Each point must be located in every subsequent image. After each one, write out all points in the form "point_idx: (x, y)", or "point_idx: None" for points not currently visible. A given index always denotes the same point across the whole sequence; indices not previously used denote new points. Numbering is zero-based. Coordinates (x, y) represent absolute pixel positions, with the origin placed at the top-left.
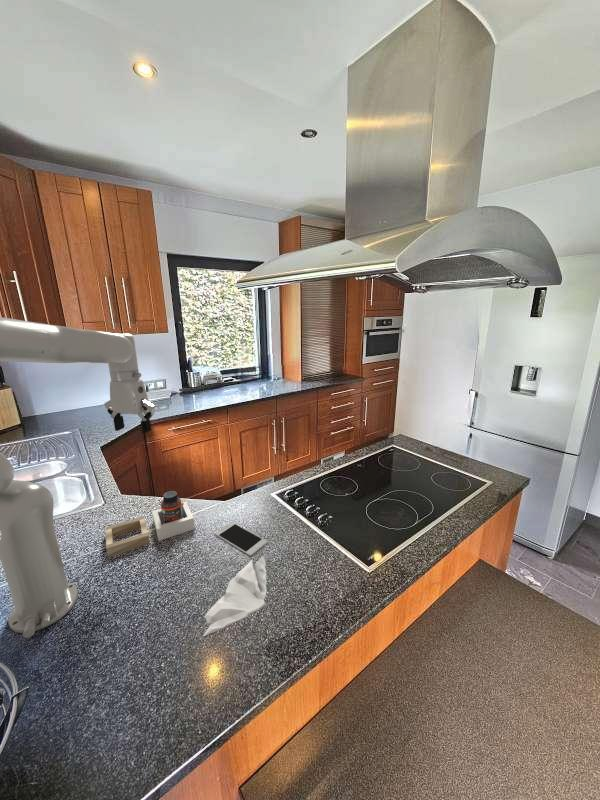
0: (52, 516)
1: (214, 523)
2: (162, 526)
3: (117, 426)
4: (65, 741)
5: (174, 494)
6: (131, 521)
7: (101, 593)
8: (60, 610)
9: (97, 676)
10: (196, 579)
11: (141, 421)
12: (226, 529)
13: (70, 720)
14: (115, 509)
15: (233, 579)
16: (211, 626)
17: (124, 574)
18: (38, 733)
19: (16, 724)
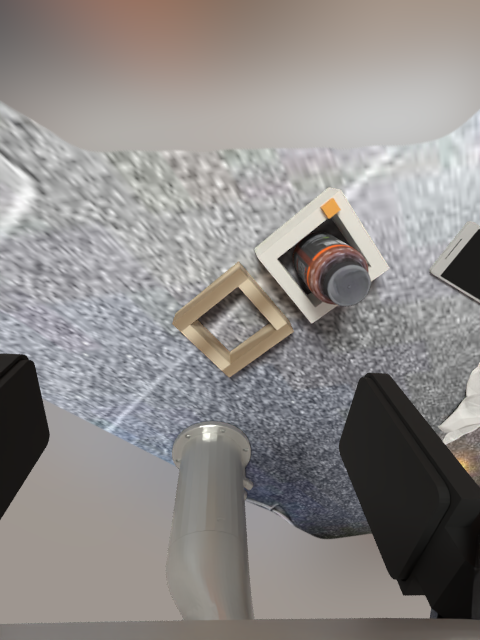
0: (247, 613)
1: (420, 229)
2: (320, 312)
3: (24, 469)
4: (343, 520)
5: (364, 284)
6: (220, 294)
7: (273, 421)
8: (243, 458)
9: (339, 489)
10: (413, 379)
11: (411, 588)
12: (457, 253)
13: (337, 512)
14: (101, 209)
15: (477, 372)
16: (450, 435)
17: (285, 389)
18: (316, 520)
19: (293, 520)
